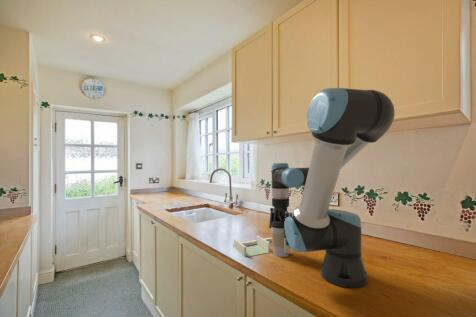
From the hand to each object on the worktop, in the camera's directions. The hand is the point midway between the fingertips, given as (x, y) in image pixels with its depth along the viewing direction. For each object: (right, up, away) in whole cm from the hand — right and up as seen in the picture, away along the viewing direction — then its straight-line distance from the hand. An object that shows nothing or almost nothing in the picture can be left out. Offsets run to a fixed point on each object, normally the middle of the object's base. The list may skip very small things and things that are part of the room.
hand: (281, 248), depth 106 cm
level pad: (-12, -3, +3) cm, 13 cm away
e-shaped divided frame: (-8, -3, +9) cm, 12 cm away
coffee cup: (0, -3, 0) cm, 3 cm away
